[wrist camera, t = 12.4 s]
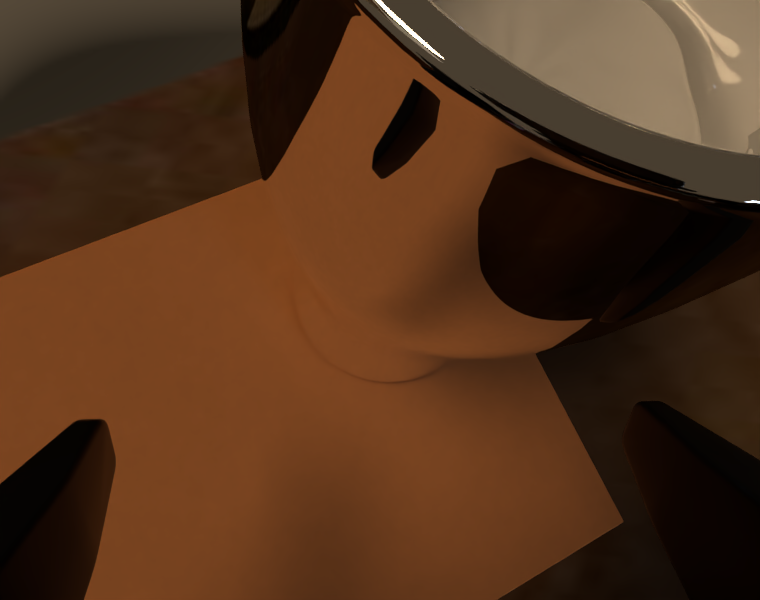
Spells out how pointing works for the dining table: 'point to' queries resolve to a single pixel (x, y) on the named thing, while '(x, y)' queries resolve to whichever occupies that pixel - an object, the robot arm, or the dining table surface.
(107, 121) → the dining table surface
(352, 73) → the beer glass
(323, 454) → the cloth
